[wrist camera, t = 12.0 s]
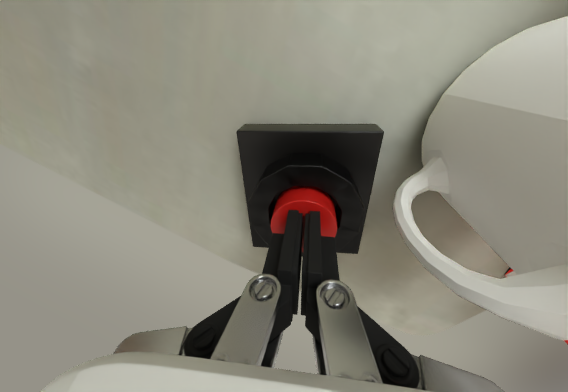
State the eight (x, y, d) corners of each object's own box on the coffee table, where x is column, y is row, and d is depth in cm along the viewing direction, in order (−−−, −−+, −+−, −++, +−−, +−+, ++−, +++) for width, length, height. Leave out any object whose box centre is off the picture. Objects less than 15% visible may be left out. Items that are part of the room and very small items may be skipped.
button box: (244, 123, 13) (224, 140, 10) (376, 123, 12) (395, 141, 10) (257, 232, 18) (246, 265, 15) (354, 238, 17) (362, 274, 14)
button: (273, 183, 12) (268, 199, 11) (337, 185, 12) (340, 202, 10) (276, 230, 14) (272, 250, 13) (332, 234, 14) (333, 254, 12)
